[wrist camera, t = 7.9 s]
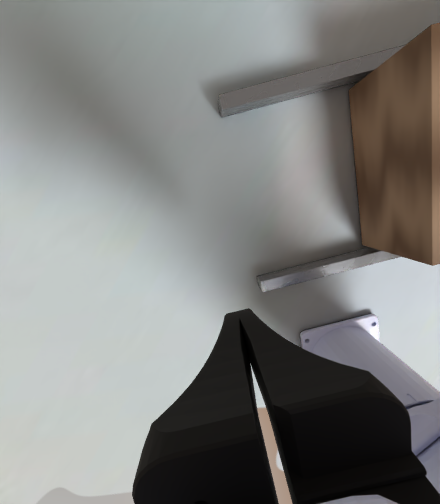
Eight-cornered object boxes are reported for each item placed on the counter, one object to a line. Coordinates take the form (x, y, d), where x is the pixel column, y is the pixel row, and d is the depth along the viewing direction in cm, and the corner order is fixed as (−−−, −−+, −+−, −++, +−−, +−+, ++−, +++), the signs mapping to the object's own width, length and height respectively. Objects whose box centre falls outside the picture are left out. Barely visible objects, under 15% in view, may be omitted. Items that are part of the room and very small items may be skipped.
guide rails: (470, 231, 21) (490, 233, 19) (258, 285, 21) (262, 292, 19) (478, 34, 17) (504, 18, 15) (218, 103, 17) (219, 94, 15)
